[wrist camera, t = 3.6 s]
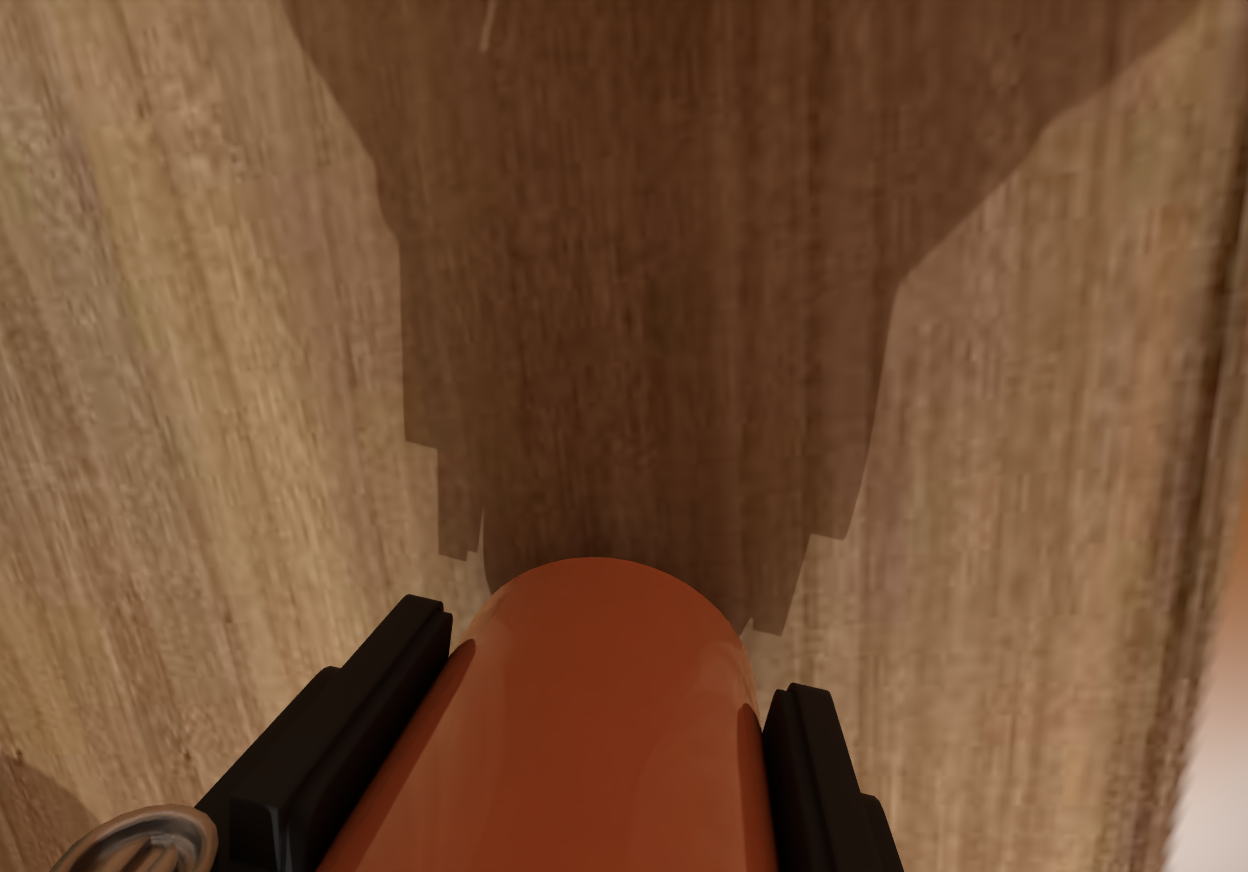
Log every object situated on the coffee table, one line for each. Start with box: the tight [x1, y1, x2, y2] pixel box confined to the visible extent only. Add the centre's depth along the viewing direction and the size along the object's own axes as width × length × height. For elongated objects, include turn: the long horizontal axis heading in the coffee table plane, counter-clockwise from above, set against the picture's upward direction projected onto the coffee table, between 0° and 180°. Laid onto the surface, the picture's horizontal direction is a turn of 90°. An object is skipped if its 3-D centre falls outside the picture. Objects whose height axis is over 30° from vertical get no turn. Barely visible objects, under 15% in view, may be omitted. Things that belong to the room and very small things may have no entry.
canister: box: [314, 557, 780, 872], centre depth 8 cm, size 5×5×6 cm
